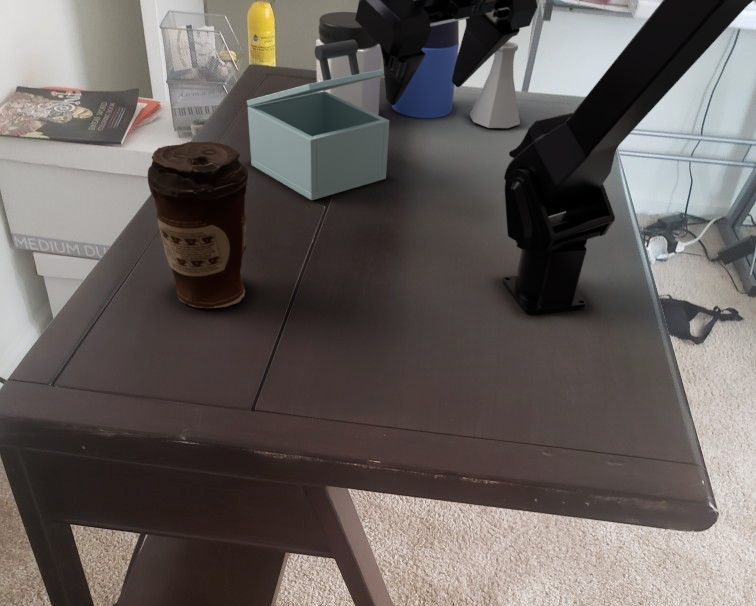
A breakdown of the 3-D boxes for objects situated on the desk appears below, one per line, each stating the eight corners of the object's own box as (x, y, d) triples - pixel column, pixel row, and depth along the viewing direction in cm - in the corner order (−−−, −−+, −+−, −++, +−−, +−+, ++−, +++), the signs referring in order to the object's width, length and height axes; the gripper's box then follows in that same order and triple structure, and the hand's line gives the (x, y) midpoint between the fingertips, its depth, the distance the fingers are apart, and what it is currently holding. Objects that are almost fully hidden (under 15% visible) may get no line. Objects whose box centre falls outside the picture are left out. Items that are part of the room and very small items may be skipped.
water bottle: (437, 95, 116) (458, -110, 98) (462, 116, 110) (489, -100, 92) (382, 99, 114) (392, -112, 96) (404, 120, 108) (420, -101, 90)
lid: (392, 73, 84) (385, 32, 82) (310, 90, 79) (300, 46, 77) (324, 90, 94) (317, 54, 92) (247, 106, 88) (238, 68, 86)
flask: (460, 115, 110) (470, 38, 103) (502, 111, 113) (514, 35, 106) (485, 132, 106) (497, 53, 99) (528, 127, 108) (542, 49, 101)
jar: (309, 108, 109) (307, 12, 101) (358, 102, 112) (361, 9, 104) (335, 129, 104) (336, 29, 95) (386, 122, 107) (392, 25, 98)
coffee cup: (237, 325, 67) (223, 180, 58) (151, 311, 68) (124, 166, 59) (266, 279, 74) (258, 141, 64) (187, 267, 74) (167, 129, 65)
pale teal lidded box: (386, 178, 92) (389, 120, 88) (311, 200, 87) (310, 139, 82) (324, 146, 99) (324, 90, 94) (251, 165, 93) (247, 106, 88)
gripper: (492, -136, 70) (440, 31, 83) (336, -124, 61) (306, 61, 74) (571, -68, 67) (504, 93, 80) (420, -45, 58) (373, 132, 72)
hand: (424, 93), depth 77 cm, fingers open, 9 cm apart
